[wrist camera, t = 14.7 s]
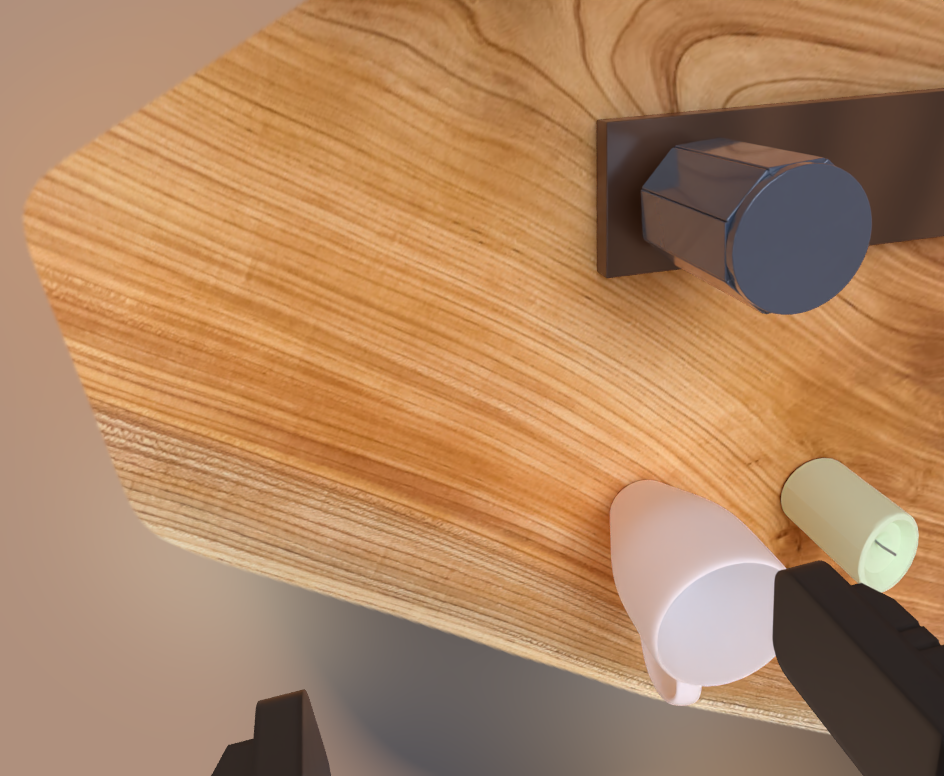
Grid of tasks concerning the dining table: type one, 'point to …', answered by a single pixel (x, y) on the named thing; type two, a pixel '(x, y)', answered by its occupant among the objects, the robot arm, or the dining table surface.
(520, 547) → the dining table surface
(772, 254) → the cup
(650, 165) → the cup stand
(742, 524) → the mug
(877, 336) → the dining table surface
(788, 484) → the candle
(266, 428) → the dining table surface
